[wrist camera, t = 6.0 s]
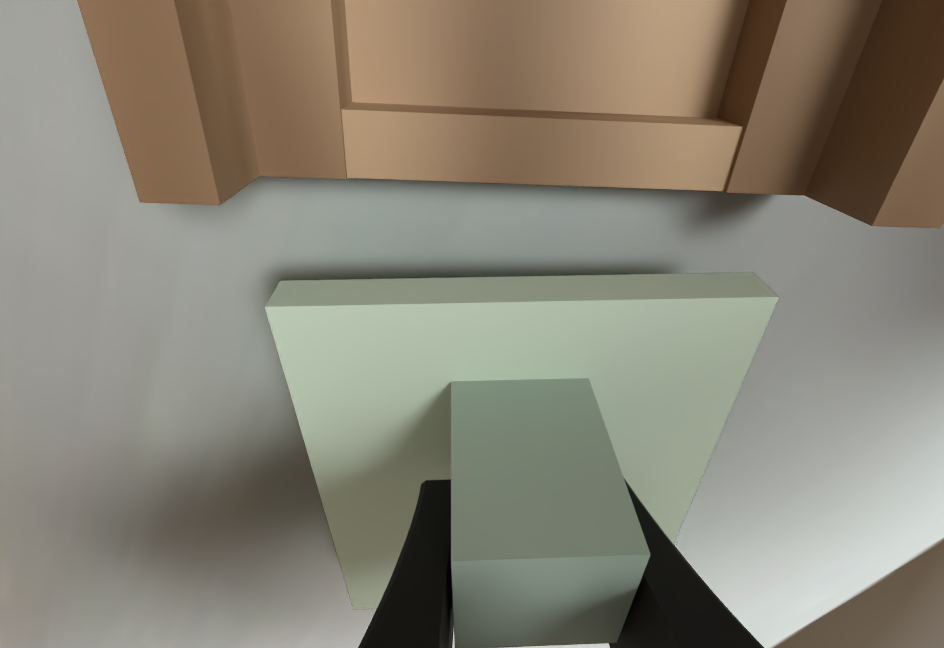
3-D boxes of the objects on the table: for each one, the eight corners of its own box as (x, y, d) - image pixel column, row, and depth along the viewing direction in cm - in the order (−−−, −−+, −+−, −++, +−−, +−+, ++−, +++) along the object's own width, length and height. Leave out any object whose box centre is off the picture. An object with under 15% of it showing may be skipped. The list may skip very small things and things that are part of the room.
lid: (753, 272, 10) (952, 459, 6) (640, 569, 17) (700, 752, 13) (279, 280, 10) (161, 483, 6) (358, 579, 17) (328, 769, 13)
